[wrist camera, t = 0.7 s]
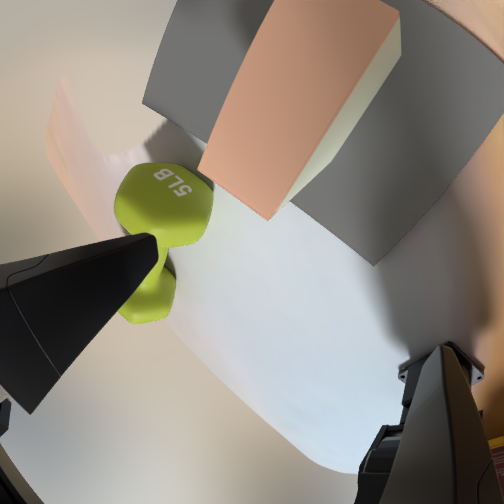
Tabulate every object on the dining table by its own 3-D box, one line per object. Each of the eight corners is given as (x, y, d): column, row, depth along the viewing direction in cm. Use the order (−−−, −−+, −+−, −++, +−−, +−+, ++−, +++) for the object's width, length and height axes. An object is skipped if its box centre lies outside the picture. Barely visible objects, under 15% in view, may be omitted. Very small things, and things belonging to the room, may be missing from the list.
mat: (517, 83, 9) (522, 83, 8) (375, 260, 19) (373, 266, 19) (218, -64, 11) (212, -68, 10) (148, 102, 21) (141, 103, 21)
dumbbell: (167, 143, 23) (99, 170, 18) (239, 197, 22) (178, 240, 17) (136, 259, 34) (93, 291, 29) (184, 302, 33) (143, 342, 28)
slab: (401, 55, 11) (398, 11, 5) (331, 161, 17) (267, 221, 10) (350, 25, 12) (294, -35, 5) (288, 132, 17) (197, 169, 10)
